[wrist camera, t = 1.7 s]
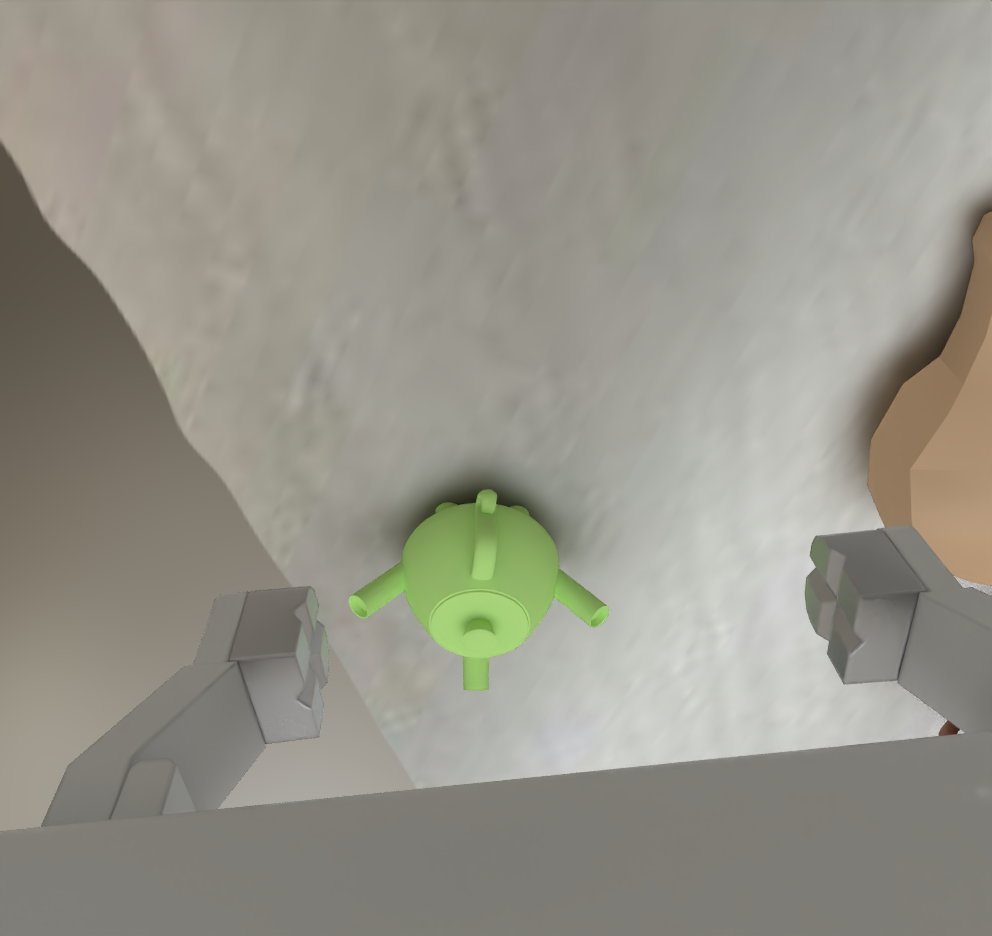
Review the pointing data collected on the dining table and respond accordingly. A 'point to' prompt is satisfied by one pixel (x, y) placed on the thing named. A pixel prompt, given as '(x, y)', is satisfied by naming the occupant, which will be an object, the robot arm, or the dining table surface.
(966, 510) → the squash
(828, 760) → the robot arm
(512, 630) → the teapot
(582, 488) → the dining table surface
